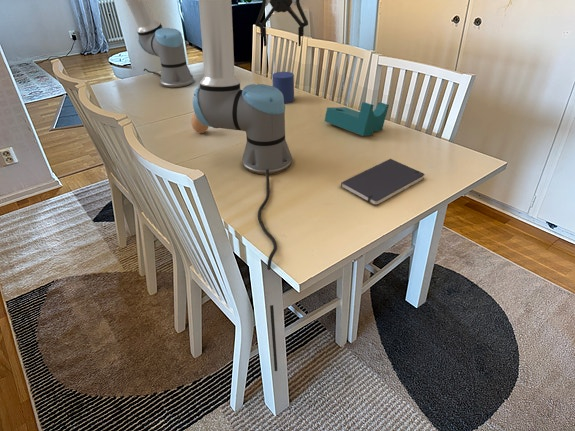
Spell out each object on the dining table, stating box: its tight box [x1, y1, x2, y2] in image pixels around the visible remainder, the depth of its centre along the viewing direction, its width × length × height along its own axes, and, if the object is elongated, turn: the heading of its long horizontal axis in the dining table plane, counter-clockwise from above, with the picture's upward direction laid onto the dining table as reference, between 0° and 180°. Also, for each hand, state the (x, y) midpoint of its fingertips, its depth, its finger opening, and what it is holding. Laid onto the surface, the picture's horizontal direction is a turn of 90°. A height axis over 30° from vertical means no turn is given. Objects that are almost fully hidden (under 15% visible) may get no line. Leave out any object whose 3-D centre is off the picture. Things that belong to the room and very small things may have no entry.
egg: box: [190, 112, 209, 134], centre depth 143 cm, size 6×6×8 cm
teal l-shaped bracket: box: [324, 101, 390, 137], centre depth 144 cm, size 18×11×10 cm, turn 43°
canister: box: [271, 71, 295, 105], centre depth 168 cm, size 9×9×11 cm
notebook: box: [340, 158, 425, 206], centre depth 114 cm, size 13×2×21 cm
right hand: (282, 45), depth 159 cm, fingers open, 13 cm apart
